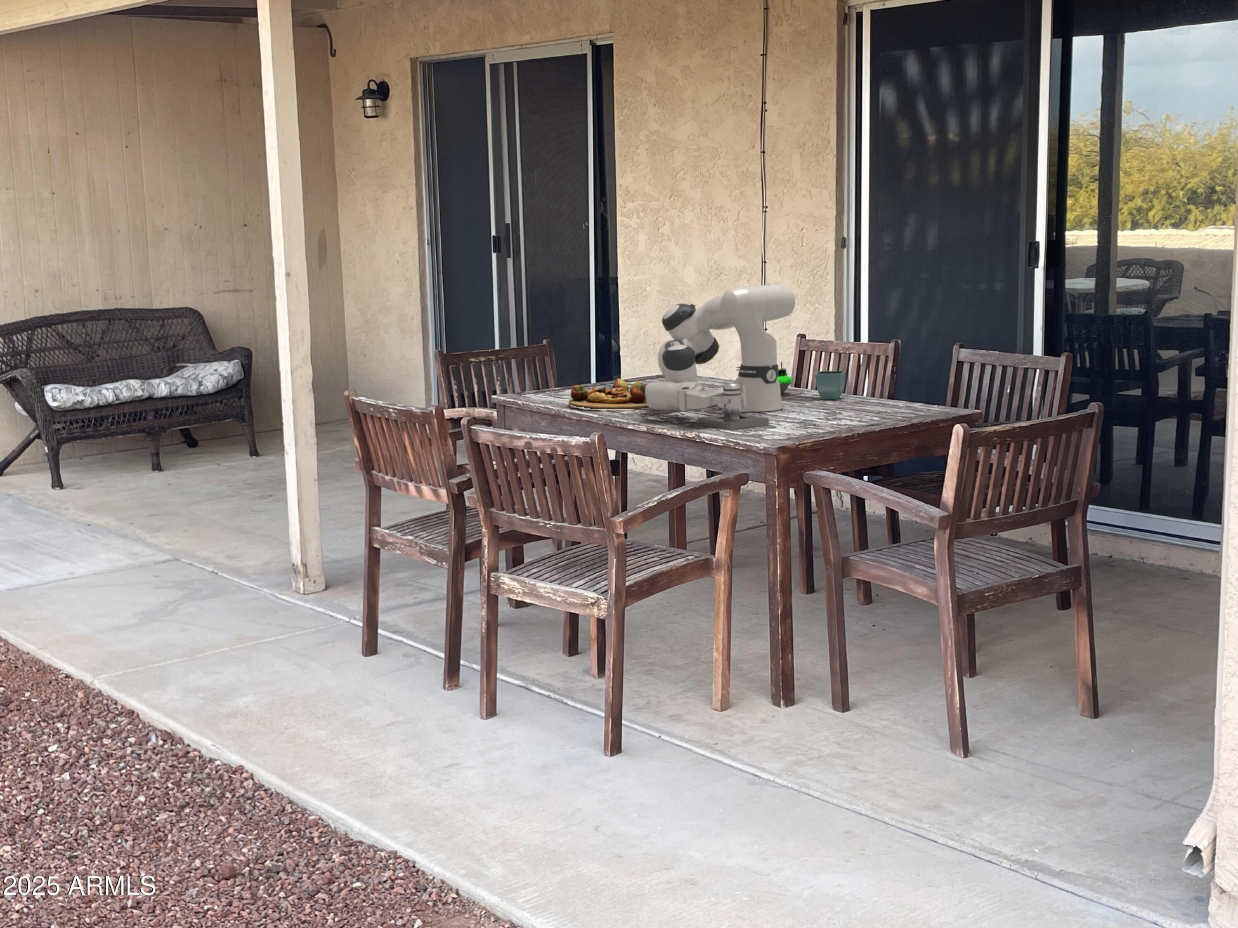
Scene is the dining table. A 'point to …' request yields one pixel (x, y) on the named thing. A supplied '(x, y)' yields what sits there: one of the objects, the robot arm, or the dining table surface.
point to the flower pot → (830, 384)
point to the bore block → (733, 422)
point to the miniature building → (783, 379)
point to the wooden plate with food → (610, 396)
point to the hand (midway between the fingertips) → (735, 398)
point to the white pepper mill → (732, 401)
